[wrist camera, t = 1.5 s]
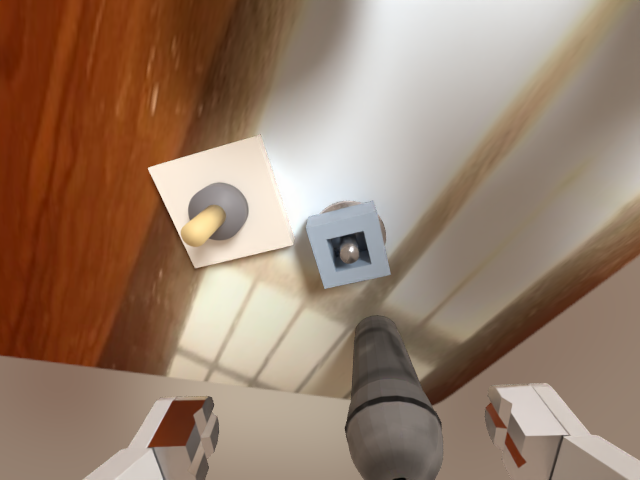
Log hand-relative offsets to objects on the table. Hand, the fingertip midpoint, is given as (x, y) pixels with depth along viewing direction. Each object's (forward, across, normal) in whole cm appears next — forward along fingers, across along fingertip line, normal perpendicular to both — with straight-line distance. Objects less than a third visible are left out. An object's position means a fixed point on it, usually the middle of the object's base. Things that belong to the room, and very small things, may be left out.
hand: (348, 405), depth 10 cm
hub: (+22, +10, -1) cm, 24 cm away
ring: (+21, -1, +3) cm, 22 cm away
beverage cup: (+22, -4, +14) cm, 27 cm away
